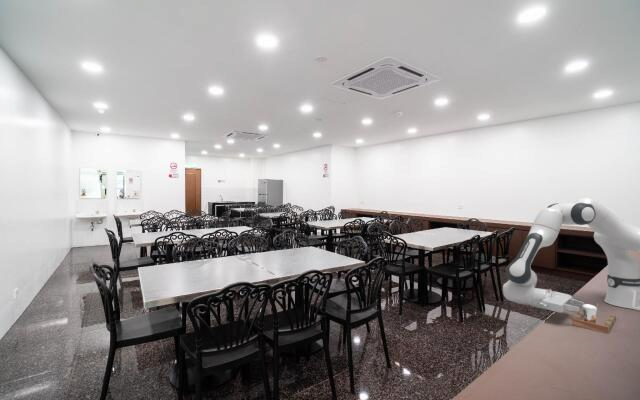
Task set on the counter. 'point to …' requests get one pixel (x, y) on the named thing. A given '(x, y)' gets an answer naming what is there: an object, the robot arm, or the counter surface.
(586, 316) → the milkshake
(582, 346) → the counter surface
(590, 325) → the rail guide
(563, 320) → the counter surface
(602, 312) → the counter surface
